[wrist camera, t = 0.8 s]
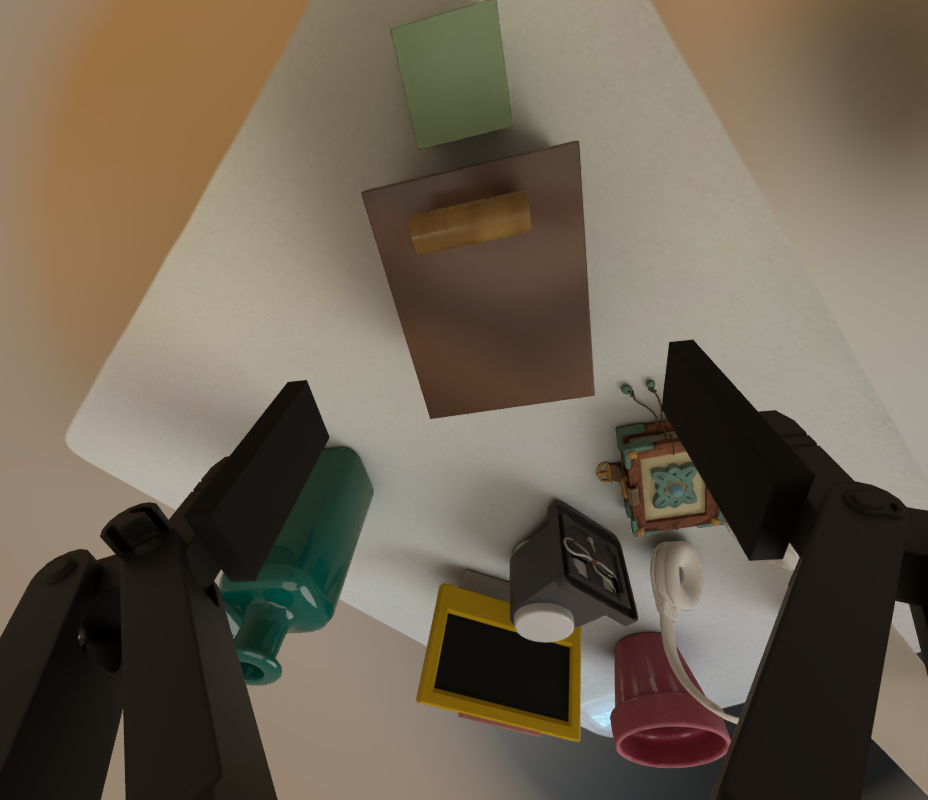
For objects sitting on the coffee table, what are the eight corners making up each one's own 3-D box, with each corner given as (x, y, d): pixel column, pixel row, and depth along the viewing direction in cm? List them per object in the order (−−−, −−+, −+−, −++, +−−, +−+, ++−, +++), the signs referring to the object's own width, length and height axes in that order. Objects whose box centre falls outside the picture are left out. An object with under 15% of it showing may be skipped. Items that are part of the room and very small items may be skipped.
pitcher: (356, 443, 48) (269, 643, 30) (378, 497, 52) (315, 701, 34) (276, 453, 50) (145, 649, 31) (304, 505, 54) (205, 704, 35)
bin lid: (364, 190, 26) (334, 205, 21) (576, 140, 24) (597, 144, 19) (431, 413, 35) (421, 461, 30) (592, 390, 33) (610, 437, 28)
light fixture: (488, 544, 57) (484, 627, 48) (559, 493, 50) (569, 578, 41) (549, 578, 60) (556, 662, 51) (624, 534, 53) (646, 622, 44)
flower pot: (601, 674, 72) (620, 771, 61) (591, 627, 64) (611, 727, 54) (692, 667, 69) (729, 768, 58) (693, 618, 62) (735, 722, 51)
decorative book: (727, 363, 40) (754, 391, 36) (722, 496, 49) (743, 531, 45) (582, 392, 43) (592, 421, 39) (602, 514, 52) (611, 548, 48)
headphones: (622, 546, 55) (679, 734, 38) (770, 476, 47) (923, 671, 30) (652, 574, 57) (718, 762, 40) (796, 512, 50) (951, 710, 33)
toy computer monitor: (577, 599, 61) (600, 731, 48) (551, 627, 65) (565, 756, 52) (445, 559, 58) (430, 688, 45) (426, 591, 62) (408, 718, 49)
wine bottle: (811, 572, 55) (1079, 951, 30) (881, 584, 56) (1203, 967, 30) (769, 614, 60) (969, 967, 35) (833, 625, 61) (1076, 981, 35)
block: (408, 45, 29) (389, 28, 24) (495, 20, 28) (496, -3, 23) (430, 146, 32) (418, 150, 27) (509, 126, 31) (512, 126, 26)
